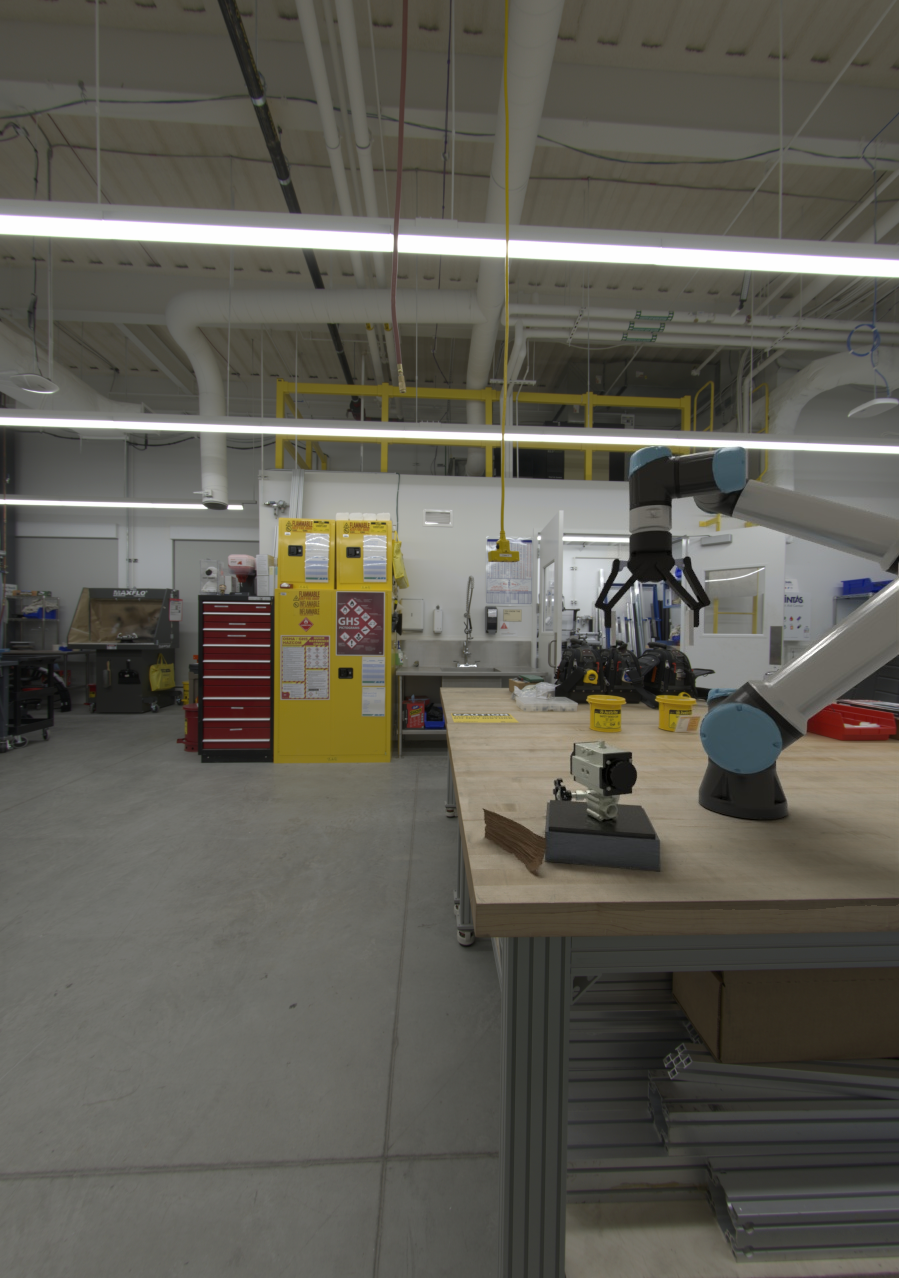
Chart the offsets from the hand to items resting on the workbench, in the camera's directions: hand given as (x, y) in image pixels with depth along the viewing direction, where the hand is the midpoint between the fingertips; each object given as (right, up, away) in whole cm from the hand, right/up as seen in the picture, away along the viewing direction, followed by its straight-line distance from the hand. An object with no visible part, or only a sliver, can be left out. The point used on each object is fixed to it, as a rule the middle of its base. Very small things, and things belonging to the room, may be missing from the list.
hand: (650, 645), depth 96 cm
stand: (-15, -32, -15) cm, 38 cm away
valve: (-12, -32, +1) cm, 34 cm away
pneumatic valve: (-14, -27, -16) cm, 34 cm away
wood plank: (-29, -32, -18) cm, 47 cm away
